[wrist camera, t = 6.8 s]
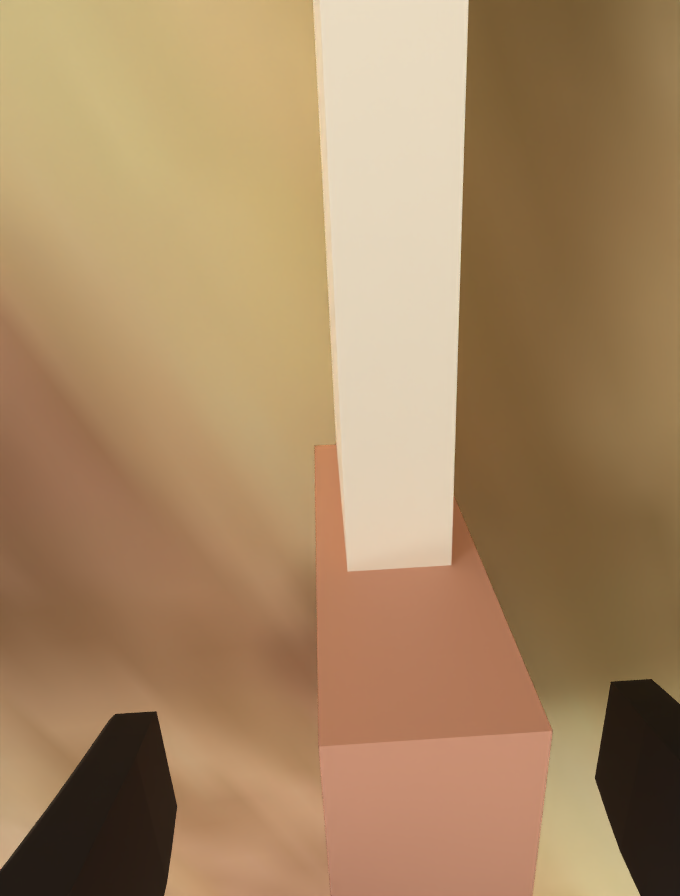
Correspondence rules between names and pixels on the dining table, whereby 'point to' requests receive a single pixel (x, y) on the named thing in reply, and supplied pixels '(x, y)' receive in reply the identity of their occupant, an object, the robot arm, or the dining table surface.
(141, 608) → the dining table surface
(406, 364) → the cream pillar on pink
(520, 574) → the dining table surface
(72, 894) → the robot arm
